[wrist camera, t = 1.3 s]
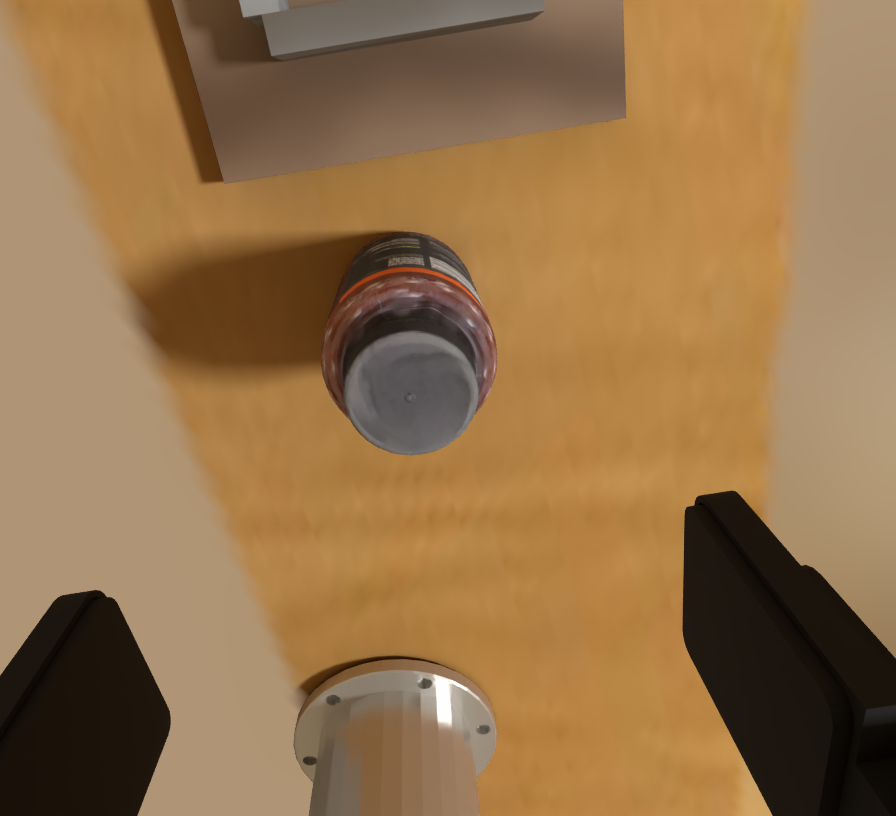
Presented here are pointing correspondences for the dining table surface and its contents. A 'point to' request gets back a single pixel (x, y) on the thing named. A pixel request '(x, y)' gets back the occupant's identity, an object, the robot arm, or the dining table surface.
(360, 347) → the supplement bottle
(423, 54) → the bottle holder
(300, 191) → the dining table surface
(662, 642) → the dining table surface
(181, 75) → the dining table surface
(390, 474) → the dining table surface
